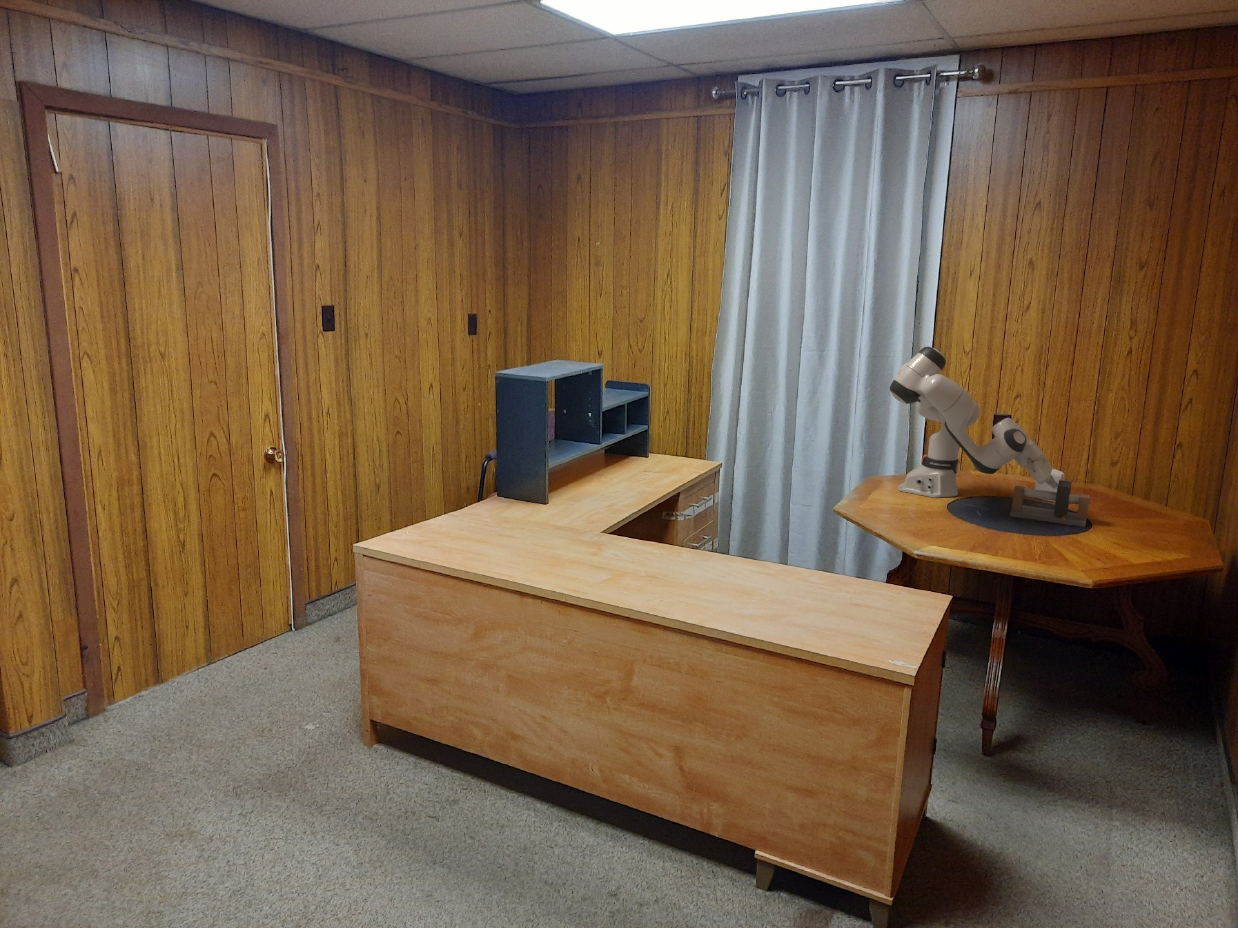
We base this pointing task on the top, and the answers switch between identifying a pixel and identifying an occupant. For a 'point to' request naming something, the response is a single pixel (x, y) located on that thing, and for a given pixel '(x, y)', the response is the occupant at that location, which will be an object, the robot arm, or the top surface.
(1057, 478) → the photo printer
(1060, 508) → the collar
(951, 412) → the robot arm
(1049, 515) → the pipe rig
